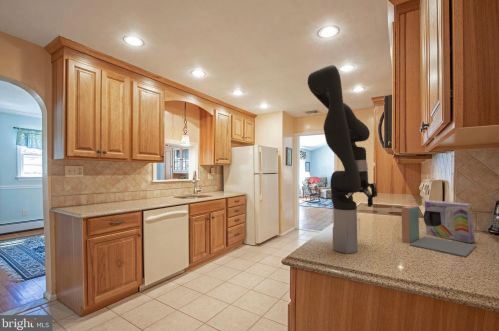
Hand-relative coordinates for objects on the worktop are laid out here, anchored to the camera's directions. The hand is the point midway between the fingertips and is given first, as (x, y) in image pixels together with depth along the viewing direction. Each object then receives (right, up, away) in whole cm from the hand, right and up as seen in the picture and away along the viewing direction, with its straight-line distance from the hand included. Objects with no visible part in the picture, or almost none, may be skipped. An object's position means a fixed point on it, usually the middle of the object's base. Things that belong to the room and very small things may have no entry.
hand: (360, 205), depth 107 cm
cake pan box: (+46, -18, +8) cm, 50 cm away
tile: (+26, -17, +4) cm, 32 cm away
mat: (+33, -17, -5) cm, 38 cm away
